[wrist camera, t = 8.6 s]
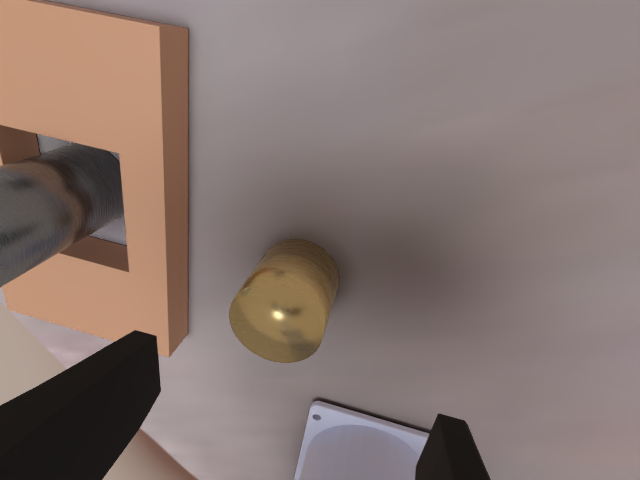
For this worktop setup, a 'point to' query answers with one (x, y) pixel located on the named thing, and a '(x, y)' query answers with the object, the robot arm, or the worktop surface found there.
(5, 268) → the long steel pin
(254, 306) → the short brass pin
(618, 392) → the worktop surface
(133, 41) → the hole board
